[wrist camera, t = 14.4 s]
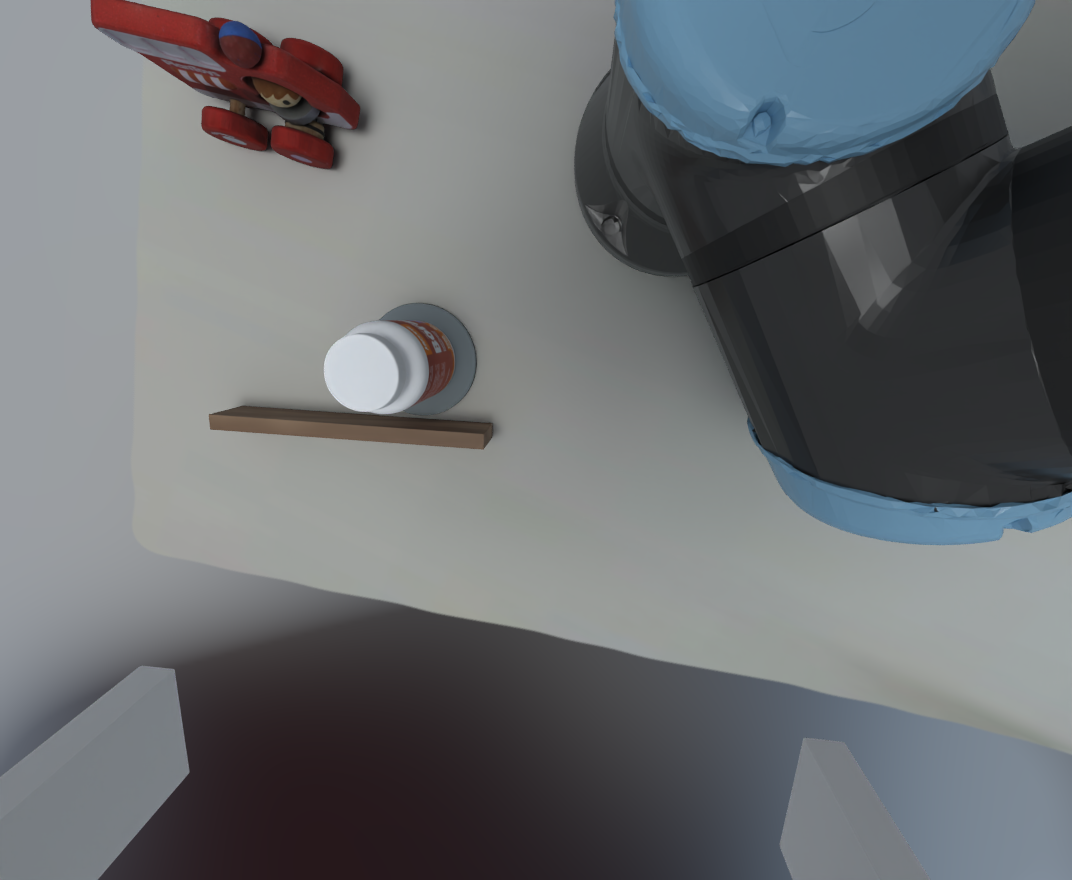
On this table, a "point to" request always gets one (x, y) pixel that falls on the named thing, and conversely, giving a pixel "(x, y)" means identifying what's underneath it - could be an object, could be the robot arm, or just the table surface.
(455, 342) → the slate pad
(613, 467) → the table surface
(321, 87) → the toy fire truck
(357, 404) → the pill bottle
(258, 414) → the divider rail
